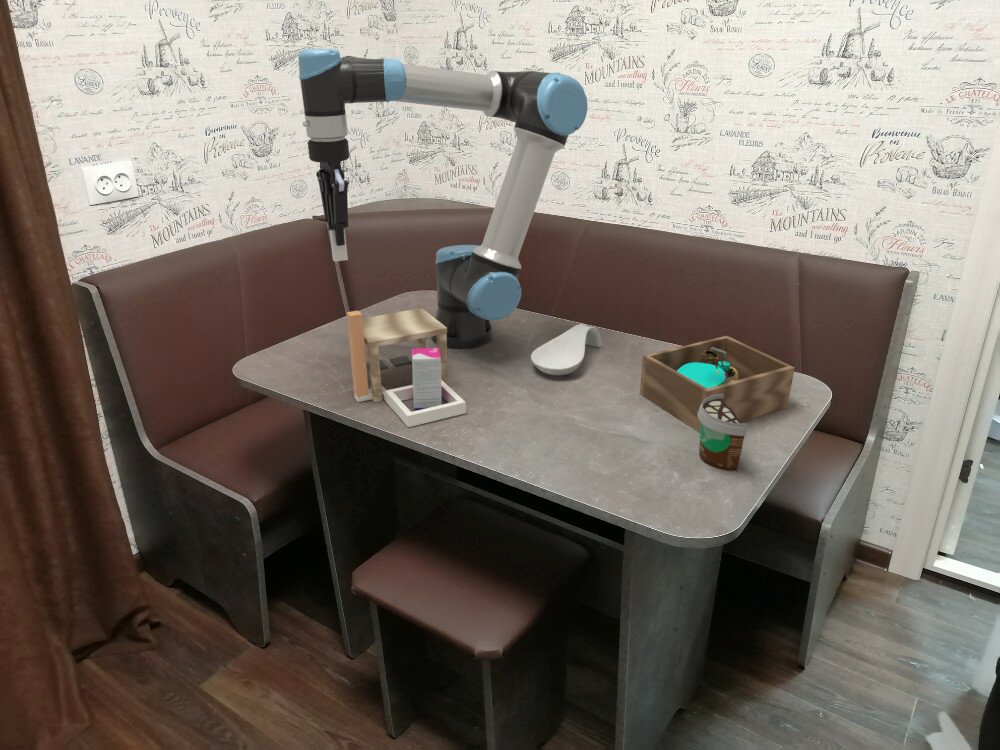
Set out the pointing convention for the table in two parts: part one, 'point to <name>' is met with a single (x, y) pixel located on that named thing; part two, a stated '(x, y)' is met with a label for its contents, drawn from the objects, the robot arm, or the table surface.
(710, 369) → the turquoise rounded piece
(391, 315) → the small wooden stool
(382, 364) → the plate
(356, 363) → the sled
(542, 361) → the spoon rest
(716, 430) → the food container
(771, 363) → the teapot crate
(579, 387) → the table surface
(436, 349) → the supplement box
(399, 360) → the plate
